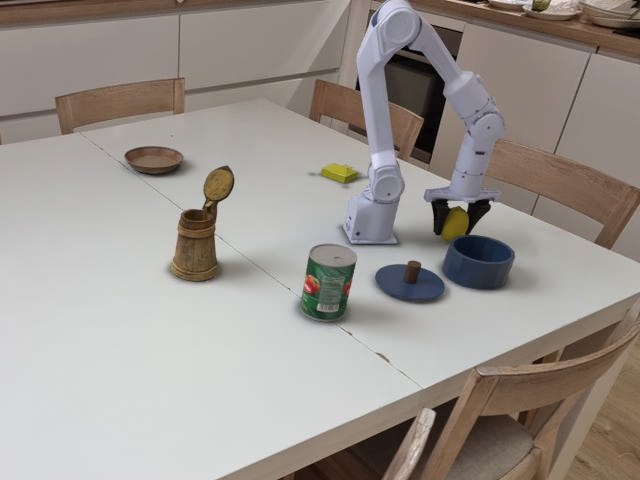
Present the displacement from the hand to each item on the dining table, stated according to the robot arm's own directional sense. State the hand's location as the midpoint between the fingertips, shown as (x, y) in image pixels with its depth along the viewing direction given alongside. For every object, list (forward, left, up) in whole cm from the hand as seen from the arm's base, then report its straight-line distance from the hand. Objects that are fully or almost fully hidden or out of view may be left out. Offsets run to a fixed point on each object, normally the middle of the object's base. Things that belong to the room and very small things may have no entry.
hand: (450, 233), depth 138 cm
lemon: (0, 0, -2) cm, 2 cm away
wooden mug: (-52, -9, -2) cm, 53 cm away
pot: (0, -13, -2) cm, 13 cm away
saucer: (-60, +41, -2) cm, 73 cm away
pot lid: (-14, -17, -1) cm, 22 cm away
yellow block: (-14, +35, -2) cm, 38 cm away
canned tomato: (-32, -25, -2) cm, 41 cm away
